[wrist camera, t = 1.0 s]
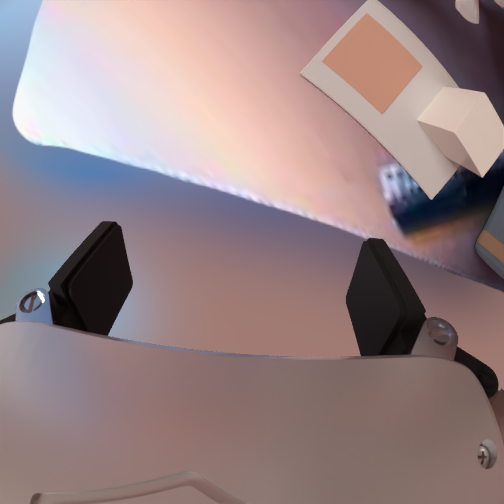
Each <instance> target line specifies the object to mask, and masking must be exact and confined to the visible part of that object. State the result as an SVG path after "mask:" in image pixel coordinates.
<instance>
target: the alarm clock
mask: <svg viewBox="0 0 504 504" xmlns="http://www.w3.org/2000/svg"><path fill="white" fill-rule="evenodd" d="M475 250H476V252H477V254H478V255H479V256H480V257H481V258H482V259H483V260H484V261H485V263H486V264H487V265H488V266H489V267H490V268H491V269H492V270H493V271H494V272H495V273H497V274H498V275H499V276H500V277H501V278H502V279H503V280H504V186H503V188H502V191H501V193H500V195H499V197H498V199H497V202H496V204H495V206H494V208H493V210H492V212H491V214H490V216H489V218H488V220H487V222H486V224H485V226H484V228H483V229H482V231H481V233H480V235H479V237H478V239H477V241H476V244H475Z"/></svg>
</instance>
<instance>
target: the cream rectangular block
mask: <svg viewBox="0 0 504 504" xmlns="http://www.w3.org/2000/svg"><path fill="white" fill-rule="evenodd" d="M417 121H418V122H419V124H420V125H421V126H422V127H423V128H424V130H425V131H426V132H427V133H428V135H429V136H430V137H431V138H432V140H433V141H434V142H435V144H436V145H437V146H438V148H439V149H440V150H441V152H442V153H443V154H444V156H445V157H447V158H449V159H451V160H452V161H454V162H456V163H458V164H460V165H462V166H463V167H465V168H467V169H469V170H470V171H472V172H474V173H476V174H477V175H479V176H481V177H482V178H483V176H484V175H485V174H486V172H487V171H488V170H489V168H490V167H491V166H492V164H493V163H494V162H495V160H496V159H497V158H498V156H499V155H500V153H501V152H502V150H503V149H504V126H503V124H502V122H501V120H500V118H499V116H498V115H497V113H496V111H495V109H494V107H493V106H492V104H491V102H490V100H489V99H488V97H487V95H486V94H485V93H484V92H478V91H472V90H466V89H459V88H451V87H443V88H442V90H441V91H440V92H439V93H438V95H437V96H436V97H435V98H434V100H433V101H432V102H431V103H430V104H429V106H428V107H427V108H426V109H425V111H424V112H423V113H422V114H421V115H420V117H419V118H418V119H417Z"/></svg>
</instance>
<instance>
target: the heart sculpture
mask: <svg viewBox="0 0 504 504" xmlns="http://www.w3.org/2000/svg"><path fill="white" fill-rule="evenodd" d="M494 1H495V2H496V3H497V4H498V5H499V6H500V7H502V8H503V9H504V0H494ZM455 8H456V9H457V10H458V11H459V12H460V14H461V15H462V16H463V17H464V18H465V19H466V20H467V21H469V22H472V23H476V24H479V0H456V5H455Z"/></svg>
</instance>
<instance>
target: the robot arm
mask: <svg viewBox="0 0 504 504" xmlns="http://www.w3.org/2000/svg"><path fill="white" fill-rule="evenodd" d="M48 284H49V287H50V291H49V292H47V291H46V290H45V289H43V288H35V289H31V290H30V291H27V292H26V293H25V294H23V295H22V296H21V297H20V299H19V300H18V302H17V304H16V314H13V315H11V316H9V317H7V318H5V319H3V320H1V321H0V504H504V390H503V389H501V390H500V391H498V379H497V376H496V374H495V373H494V371H493V370H492V369H491V368H490V367H488V366H487V365H486V364H484V363H482V362H481V361H479V360H478V359H476V358H475V357H473V356H472V355H470V354H468V353H467V352H465V351H464V350H462V349H460V348H459V347H457V344H458V336H457V332H456V331H455V329H454V328H453V327H452V325H451V324H449V323H448V322H447V321H445V320H443V319H441V318H437V317H431V318H428V319H427V318H426V316H425V315H424V313H425V312H426V310H425V308H424V306H423V304H422V303H421V301H420V299H419V297H418V295H417V294H416V292H415V290H414V288H413V287H412V285H411V283H410V281H409V280H408V278H407V276H406V275H405V273H404V271H403V269H402V268H401V266H400V265H399V263H398V261H397V260H396V258H395V257H394V255H393V253H392V252H391V250H390V249H389V247H388V245H387V244H386V242H385V241H384V240H383V239H377V238H369V239H368V240H367V241H364V242H363V244H362V247H361V250H360V254H359V257H358V261H357V264H356V267H355V270H354V273H353V277H352V280H351V283H350V286H349V289H348V292H347V295H346V304H347V308H348V311H349V315H350V318H351V321H352V325H353V328H354V332H355V336H356V339H357V343H358V347H359V350H360V354H361V356H350V357H294V356H268V355H249V354H235V353H223V352H213V351H202V350H194V349H186V348H178V347H170V346H162V345H156V344H150V343H143V342H137V341H131V340H125V339H120V338H114V337H110V336H108V334H109V332H110V329H111V328H112V326H113V323H114V322H115V320H116V318H117V316H118V313H119V312H120V310H121V308H122V306H123V304H124V302H125V300H126V298H127V296H128V294H129V292H130V291H131V288H132V285H133V280H132V275H131V271H130V267H129V262H128V258H127V253H126V249H125V244H124V239H123V234H122V229H121V226H119V225H118V224H117V223H116V222H110V221H103V222H101V223H100V224H99V225H98V226H97V227H96V229H94V230H93V232H92V233H91V234H90V235H89V236H88V237H87V238H86V239H85V240H84V241H83V242H82V244H81V245H80V246H79V247H78V248H77V249H76V250H75V251H74V253H73V254H72V255H71V256H70V257H69V258H68V259H67V261H66V262H65V263H64V264H63V265H62V267H61V268H60V269H59V270H58V271H57V273H56V274H55V275H54V277H52V279H51V280H50V281H49V283H48Z"/></svg>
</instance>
